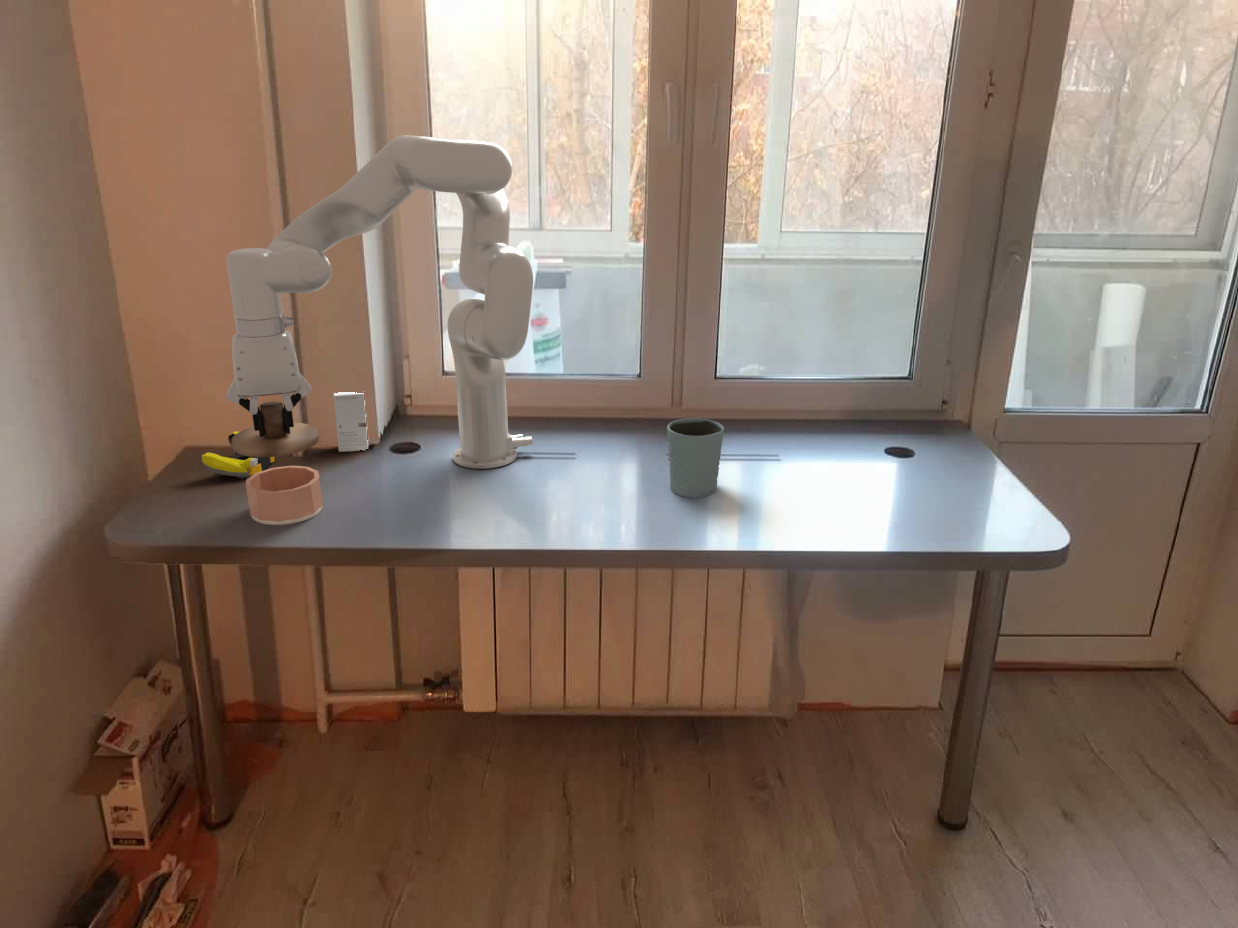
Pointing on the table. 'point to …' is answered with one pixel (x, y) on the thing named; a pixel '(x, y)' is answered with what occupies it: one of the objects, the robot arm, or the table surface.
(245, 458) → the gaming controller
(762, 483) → the table surface
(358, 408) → the skincare box
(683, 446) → the grey green cup
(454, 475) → the table surface
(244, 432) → the lid
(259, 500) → the bowl
